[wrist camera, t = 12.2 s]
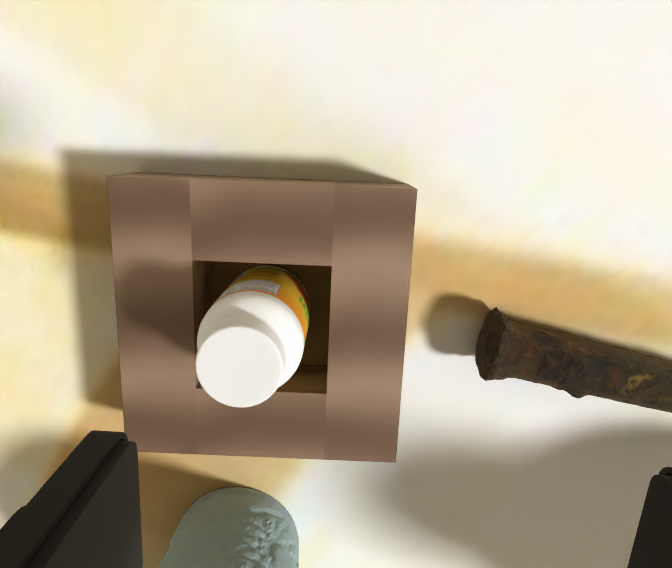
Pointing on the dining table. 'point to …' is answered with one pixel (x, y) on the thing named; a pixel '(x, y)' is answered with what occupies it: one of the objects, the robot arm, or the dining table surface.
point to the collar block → (275, 248)
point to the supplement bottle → (253, 336)
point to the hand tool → (571, 364)
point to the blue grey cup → (234, 533)
